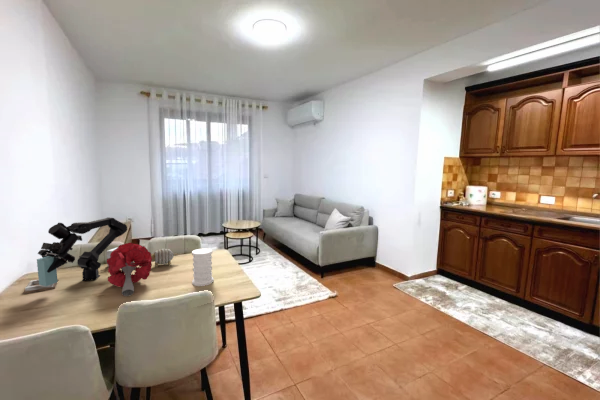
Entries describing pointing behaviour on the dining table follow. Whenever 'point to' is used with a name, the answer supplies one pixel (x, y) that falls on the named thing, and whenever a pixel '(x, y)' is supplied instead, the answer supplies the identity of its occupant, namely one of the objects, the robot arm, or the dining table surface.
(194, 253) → the decorative container
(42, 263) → the block
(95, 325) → the dining table surface
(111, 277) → the red model tree
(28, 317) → the dining table surface
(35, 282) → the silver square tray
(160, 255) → the toy sheep
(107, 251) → the small box
